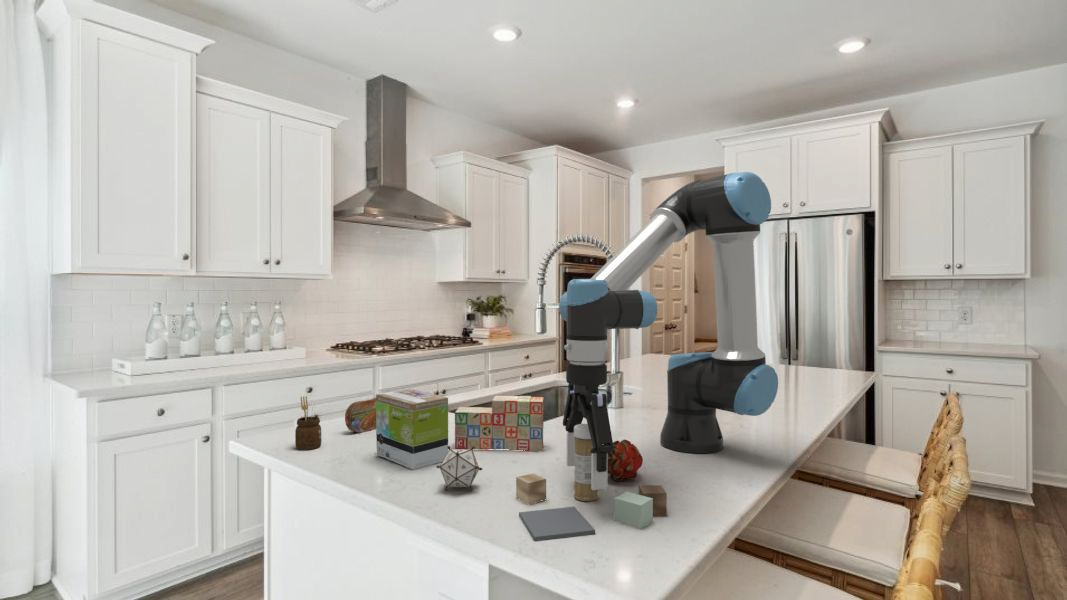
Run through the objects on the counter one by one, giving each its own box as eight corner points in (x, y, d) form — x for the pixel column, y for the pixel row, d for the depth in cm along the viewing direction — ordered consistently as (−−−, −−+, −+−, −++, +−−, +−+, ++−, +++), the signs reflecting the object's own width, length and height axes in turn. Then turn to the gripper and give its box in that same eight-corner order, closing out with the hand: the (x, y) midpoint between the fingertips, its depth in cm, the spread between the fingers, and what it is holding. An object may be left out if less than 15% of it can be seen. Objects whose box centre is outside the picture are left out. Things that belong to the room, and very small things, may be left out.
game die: (462, 511, 108) (456, 480, 102) (431, 487, 112) (424, 456, 106) (493, 478, 114) (489, 447, 107) (462, 457, 118) (457, 426, 112)
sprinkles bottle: (596, 493, 107) (596, 422, 107) (599, 502, 103) (600, 428, 103) (572, 493, 107) (572, 422, 107) (574, 502, 103) (575, 428, 102)
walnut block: (661, 507, 101) (661, 485, 101) (666, 516, 97) (666, 493, 97) (638, 507, 101) (638, 485, 101) (643, 516, 97) (643, 493, 97)
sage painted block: (626, 514, 98) (626, 491, 98) (652, 522, 94) (652, 498, 94) (614, 521, 95) (614, 497, 94) (640, 529, 91) (640, 505, 91)
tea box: (374, 456, 130) (374, 393, 130) (411, 448, 138) (411, 387, 138) (412, 471, 120) (412, 402, 120) (449, 460, 128) (450, 395, 127)
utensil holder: (300, 452, 134) (300, 401, 134) (291, 446, 139) (291, 397, 138) (325, 447, 138) (325, 398, 138) (315, 442, 143) (315, 394, 142)
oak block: (533, 494, 107) (533, 473, 107) (546, 500, 104) (546, 478, 104) (516, 498, 105) (516, 477, 105) (528, 505, 102) (528, 483, 101)
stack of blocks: (454, 450, 136) (454, 399, 136) (459, 443, 143) (459, 394, 142) (542, 452, 135) (542, 400, 135) (543, 445, 141) (544, 396, 141)
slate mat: (574, 509, 99) (574, 506, 99) (595, 533, 89) (595, 529, 89) (519, 515, 96) (519, 512, 96) (534, 540, 87) (534, 536, 87)
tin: (350, 435, 149) (350, 404, 149) (342, 434, 151) (342, 402, 151) (393, 424, 162) (393, 395, 162) (385, 423, 164) (385, 394, 163)
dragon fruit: (607, 495, 111) (624, 485, 121) (643, 473, 108) (657, 465, 119) (585, 456, 114) (603, 449, 124) (619, 434, 111) (635, 430, 122)
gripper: (547, 355, 116) (547, 458, 116) (591, 372, 92) (590, 502, 92) (582, 354, 118) (581, 455, 118) (634, 370, 93) (633, 498, 94)
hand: (585, 476), depth 105 cm, fingers open, 13 cm apart
